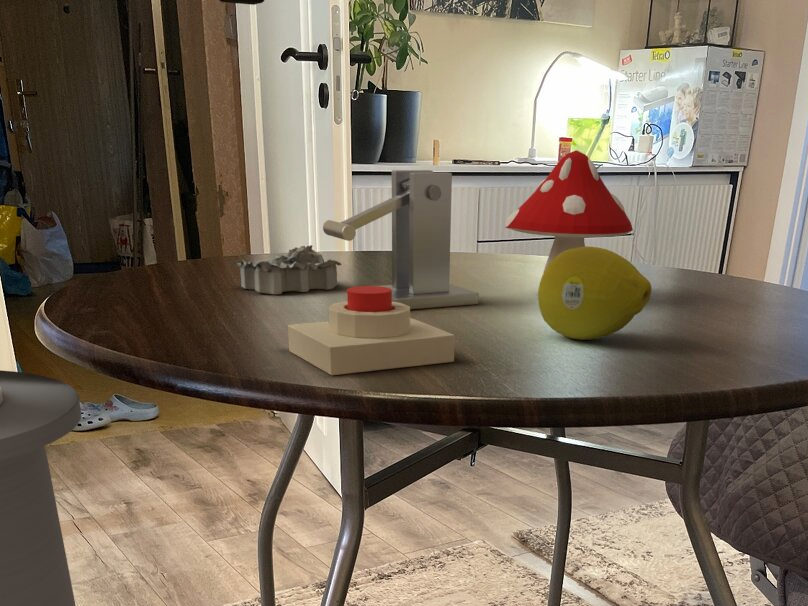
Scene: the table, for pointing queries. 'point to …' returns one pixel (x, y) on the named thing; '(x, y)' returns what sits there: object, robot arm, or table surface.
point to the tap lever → (367, 216)
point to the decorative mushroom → (571, 207)
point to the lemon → (591, 293)
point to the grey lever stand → (424, 243)
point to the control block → (369, 341)
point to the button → (369, 299)
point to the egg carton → (290, 272)
